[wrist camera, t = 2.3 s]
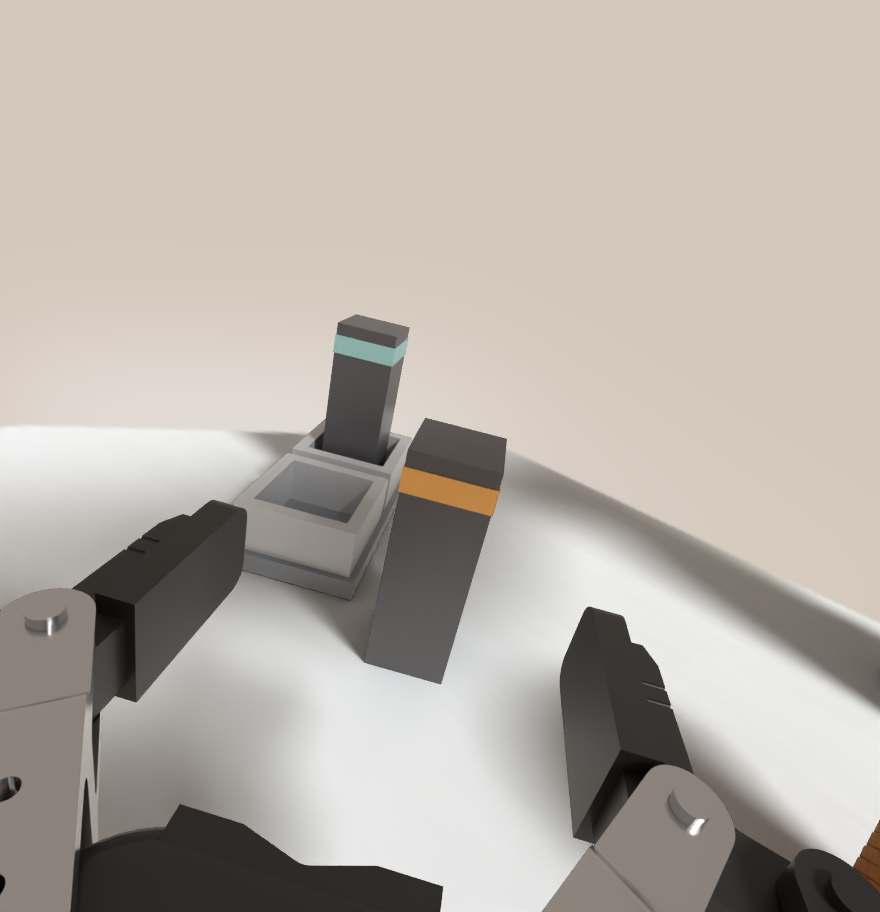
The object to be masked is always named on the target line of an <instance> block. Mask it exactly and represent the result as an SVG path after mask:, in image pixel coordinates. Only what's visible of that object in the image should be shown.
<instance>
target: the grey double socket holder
mask: <svg viewBox="0 0 880 912" xmlns="http://www.w3.org/2000/svg"><path fill="white" fill-rule="evenodd" d="M325 421H326V419H325V420H324V421H322V422H321V423H320V424H319V425H318V426H317V427H316V428H315V429H313V430H312V431H311V432H310V433H309V434H308V435H307V436H306V437H304V438H303V439H302V440H301V441H300V442H299V443H298V444H297V445H295V446H294V447H293V448H292V454H291V453H286V454H285V455H284V456H283V457H282V458H281V459H280V460H279V461H278V462H276V463H275V464H274V465H273V466H272V467H271V468H270V469H269V470H267V471H266V472H265V473H264V474H263V475H262V476H261V477H260V478H258V479H257V480H256V481H255V482H254V483H253V484H252V485H251V486H249V487H248V488H247V489H246V490H245V491H244V492H243V493H242V494H240V495H239V496H238V497H237V498H236V499H235V500H234V501H233V505H234V506H237V507H241V508H244V509H246V511H247V528H246V539H245V551H244V562H243V568H242V570H244V571H247V572H251V573H254V574H258V575H262V576H265V577H269V578H272V579H276V580H280V581H283V582H287V583H290V584H294V585H297V586H301V587H305V588H308V589H312V590H315V591H319V592H323V593H326V594H330V595H333V596H337V597H340V598H344V599H348V600H351V599H352V597H353V595H354V593H355V591H356V589H357V587H358V584H359V582H360V580H361V578H362V576H363V574H364V572H365V570H366V568H367V566H368V564H369V562H370V560H371V558H372V556H373V553H374V551H375V549H376V547H377V545H378V543H379V541H380V539H381V537H382V535H383V533H384V531H385V529H386V527H387V525H388V523H389V520H390V518H391V516H392V514H393V512H394V510H395V508H396V505H397V500H398V495H399V492H398V488H399V483H400V478H401V474H402V469H403V465H404V464H405V461H406V456H407V451H408V448H409V446H410V444H411V441H412V438H411V437H407V436H403V435H399V434H395V433H392V432H390V435H389V440H388V446H387V451H386V457H385V462H384V466H383V467H382V466H378V465H375V464H371V463H367V462H363V461H359V460H356V459H352V458H348V457H344V456H340V455H337V454H333V453H329V452H325V451H322V445H323V437H324V429H325Z"/></svg>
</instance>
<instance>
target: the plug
mask: <svg viewBox="0 0 880 912" xmlns="http://www.w3.org/2000/svg"><path fill="white" fill-rule="evenodd" d="M506 442H507V439H505V438H501V437H497V436H493V435H490V434H486V433H482V432H478V431H474V430H470V429H466V428H462V427H459V426H455V425H451V424H447V423H443V422H439V421H435V420H432V419H427V418H425V420H424V421H423V423H422V425H421V427H420V428H419V430H418V432H417V434H416V435H415V437H414V439H413V441H412V443H411V444H410V446H409V448H408V451H407V456H406V461H405V464H404V465H403V469H402V474H401V478H400V483H399V488H398V492H399V495H398V500H397V505H396V509H395V514H394V519H393V524H392V529H391V534H390V539H389V544H388V548H387V553H386V558H385V563H384V568H383V573H382V578H381V582H380V587H379V592H378V597H377V602H376V607H375V612H374V617H373V621H372V626H371V631H370V636H369V641H368V646H367V651H366V655H365V660H364V662H365V663H368V664H372V665H375V666H379V667H382V668H386V669H389V670H393V671H396V672H400V673H403V674H407V675H410V676H414V677H417V678H421V679H424V680H428V681H431V682H435V683H438V684H441V682H442V679H443V676H444V672H445V669H446V666H447V662H448V659H449V656H450V652H451V649H452V645H453V642H454V639H455V635H456V632H457V629H458V625H459V622H460V619H461V615H462V612H463V609H464V605H465V602H466V598H467V595H468V592H469V588H470V585H471V582H472V578H473V575H474V572H475V568H476V565H477V562H478V558H479V555H480V551H481V548H482V545H483V541H484V538H485V535H486V531H487V528H488V525H489V521H490V518H491V516H493V512H494V509H495V506H496V502H497V499H498V496H499V492H500V484H501V481H502V478H503V474H504V464H505V453H506Z"/></svg>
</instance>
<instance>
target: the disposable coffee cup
mask: <svg viewBox="0 0 880 912" xmlns="http://www.w3.org/2000/svg"><path fill="white" fill-rule="evenodd" d="M853 868H854V869H855V870H857V871H858V872H859V873H860V874H862V875H863V876H864V877H865V878H866V879H867V880H868V881H869V882H870V883H871V884H872V885H873V886H874V887H875V888H876V889H877V890H878V891H879V893H880V820H879V822H878V824H877V826H876V828H875V830H874V832H872V834H871V836H870V838H869V840H868V842H867V845H866V846H864V847H863V850H862V852H861V854H860V857H858V858H857V860H856V862H855V864H854V866H853Z"/></svg>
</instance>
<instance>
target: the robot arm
mask: <svg viewBox="0 0 880 912" xmlns="http://www.w3.org/2000/svg"><path fill="white" fill-rule="evenodd" d="M246 528H247V511H246V509H244V508H241V507H237V506H234V505H230V504H227V503H223V502H219V501H216V500H211V501H209V502H208V503H207V504H205V505H204V506H203V507H202V508H200V509H199V510H198V511H197V512H195V513H194V514H193V515H192V516H188V515H184V514H182V515H179V516H177V517H174V518H171V519H169V520H166V521H163V522H161V523H159V524H157V525H156V526H155V527H153V528H152V529H151V530H149V531H148V532H147V533H145V534H144V535H143V536H142V538H141V539H137V540H136V541H135V542H133V543H132V544H131V545H129V546H128V548H127V550H125V549H124V550H123V551H121V552H120V553H119V554H117V555H116V556H115V557H113V558H112V559H111V560H109V561H108V562H107V563H105V564H104V565H103V566H101V567H100V568H99V569H97V570H96V571H95V572H93V573H92V574H91V575H89V576H88V577H87V578H85V579H84V580H83V581H81V582H80V583H79V584H77V585H76V586H75V587H73V588H72V589H60V588H59V589H49V590H42V591H38V592H34V593H31V594H28V595H26V596H23V597H21V598H19V599H17V600H15V601H13V602H11V603H10V604H8V605H7V606H6V607H4V608H3V609H2V610H0V912H440V909H441V901H442V892H443V886H440V885H436V884H433V883H430V882H427V881H424V880H420V879H417V878H414V877H411V876H408V875H404V874H401V873H398V872H395V871H392V870H388V869H385V868H382V867H379V866H308V865H303V864H300V863H298V862H297V861H295V860H294V859H292V858H291V857H289V856H288V855H287V854H285V853H284V852H282V851H281V850H279V849H278V848H277V847H275V846H274V845H272V844H271V843H269V842H268V841H267V840H265V839H264V838H262V837H261V836H260V835H258V834H257V833H255V832H254V831H252V830H251V829H250V828H248V827H247V826H245V825H244V824H242V823H238V822H235V821H232V820H229V819H226V818H222V817H219V816H216V815H213V814H210V813H206V812H203V811H200V810H197V809H194V808H190V807H187V806H184V805H181V804H180V805H179V806H178V808H177V810H176V811H175V813H174V815H173V816H172V818H171V819H170V821H169V823H168V824H167V826H166V827H154V828H146V829H138V830H134V831H130V832H125V833H121V834H118V835H115V836H112V837H109V838H106V839H103V840H101V841H98V799H99V775H100V752H101V728H102V711H101V710H102V709H103V708H104V707H105V706H106V705H107V704H108V703H109V701H110V700H111V699H112V698H113V697H114V696H117V697H120V698H124V699H127V700H130V701H134V702H137V701H138V700H139V699H140V697H141V696H142V695H143V694H144V693H145V692H146V690H147V689H148V688H149V687H150V686H151V685H152V683H153V682H154V681H155V680H156V679H157V678H158V676H159V675H160V674H161V673H162V672H163V671H164V669H165V668H166V667H167V666H168V665H169V664H170V662H171V661H172V660H173V659H174V658H175V656H176V655H177V654H178V653H179V652H180V651H181V649H182V648H183V647H184V646H185V645H186V644H187V642H188V641H189V640H190V639H191V638H192V637H193V635H194V634H195V633H196V632H197V631H198V630H199V628H200V627H201V626H202V625H203V624H204V623H205V621H206V620H207V619H208V618H209V617H210V615H211V614H212V613H213V612H214V611H215V610H216V608H217V607H218V606H219V605H220V604H221V603H222V601H223V600H224V599H225V598H226V597H227V596H228V594H229V593H230V592H231V591H232V590H233V588H234V587H235V585H236V583H237V581H238V579H239V577H240V574H241V571H242V568H243V562H244V551H245V539H246ZM664 689H665V686H664V683H663V679H662V676H661V673H660V670H659V667H658V665H657V664H656V663H655V661H654V660H653V659H652V657H651V656H650V655H649V653H648V652H647V651H646V649H645V648H644V647H643V646H642V645H639V644H635V643H632V642H631V640H630V636H629V633H628V629H627V626H626V622H625V619H624V617H623V616H621V615H618V614H614V613H611V612H607V611H604V610H600V609H596V608H593V607H587V608H586V609H585V611H584V613H583V615H582V617H581V620H580V622H579V624H578V627H577V629H576V631H575V634H574V636H573V638H572V641H571V643H570V645H569V648H568V650H567V652H566V655H565V657H564V660H563V664H562V668H561V674H560V694H561V705H562V716H563V727H564V738H565V750H566V761H567V772H568V783H569V795H570V806H571V817H572V828H573V837H574V838H577V839H580V840H583V841H587V842H590V843H593V844H594V847H593V846H591V847H590V848H589V849H588V850H587V851H586V853H585V854H584V855H583V856H582V858H581V859H580V861H579V862H578V863H577V865H576V866H575V867H574V869H573V870H572V871H571V873H570V874H569V875H568V877H567V878H566V880H565V881H564V882H563V884H562V885H561V886H560V888H559V889H558V890H557V892H556V893H555V894H554V896H553V897H552V899H551V900H550V901H549V903H548V904H547V905H546V907H545V908H544V909H543V911H542V912H880V893H879V891H878V890H877V889H876V888H875V887H874V886H873V885H872V884H871V883H870V882H869V881H868V880H867V879H866V878H865V877H864V876H863V875H862V874H860V873H859V872H858V871H857V870H855V869H854V868H853V867H852V866H850V865H849V864H847V863H846V862H844V861H843V860H841V859H840V858H838V857H836V856H834V855H832V854H830V853H827V852H825V851H822V850H818V849H805V850H803V851H801V852H799V853H798V855H797V856H796V857H795V858H794V859H793V861H792V862H790V861H788V860H786V859H785V858H783V857H781V856H779V855H778V854H776V853H774V852H773V851H771V850H769V849H768V848H766V847H764V846H763V845H761V844H759V843H758V842H756V841H754V840H753V839H751V838H749V837H748V836H746V835H744V834H743V833H741V832H740V831H738V830H737V829H736V828H734V824H733V821H732V818H731V816H730V814H729V812H728V810H727V808H726V807H725V805H724V804H723V802H722V801H721V800H720V798H719V797H718V796H717V794H716V793H715V792H714V791H713V790H712V789H711V788H710V787H709V786H708V785H707V784H706V783H704V782H703V781H702V780H701V779H699V778H698V777H697V776H695V775H694V773H693V770H692V767H691V764H690V761H689V758H688V755H687V752H686V749H685V746H684V743H683V740H682V737H681V734H680V731H679V728H678V725H677V722H676V719H675V716H674V713H673V710H672V709H670V705H671V704H670V701H669V698H668V695H667V692H666V691H665V690H664Z"/></svg>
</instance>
